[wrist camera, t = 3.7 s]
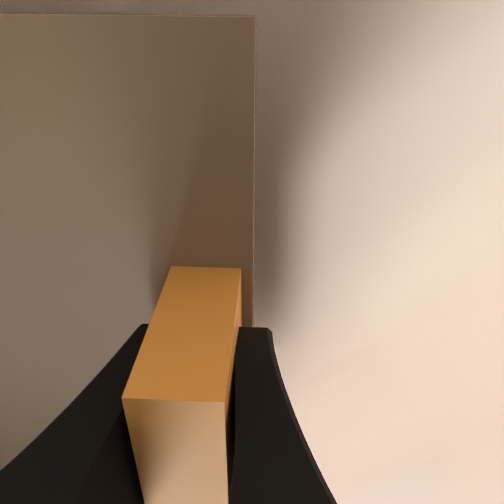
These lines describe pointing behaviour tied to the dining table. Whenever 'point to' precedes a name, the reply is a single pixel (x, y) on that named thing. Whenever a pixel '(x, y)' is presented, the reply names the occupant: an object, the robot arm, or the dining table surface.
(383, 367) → the dining table surface
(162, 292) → the lid
